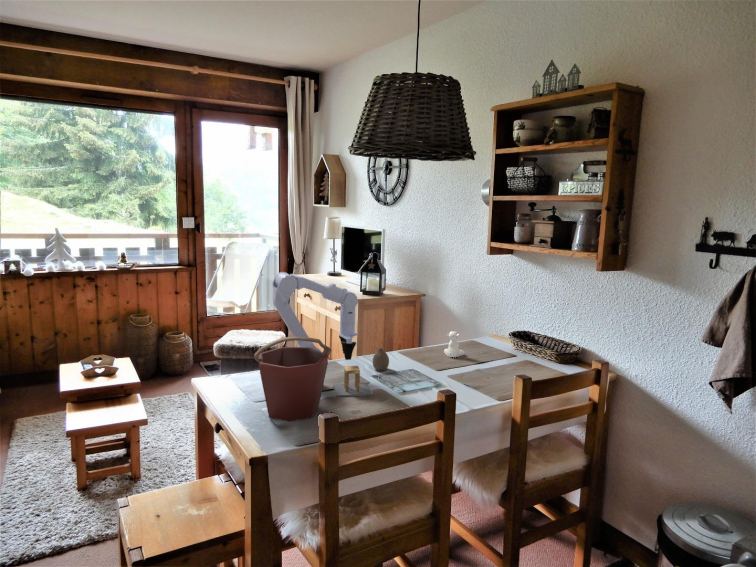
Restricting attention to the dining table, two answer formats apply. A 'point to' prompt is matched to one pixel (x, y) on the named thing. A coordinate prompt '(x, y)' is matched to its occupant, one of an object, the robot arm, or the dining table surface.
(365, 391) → the mat
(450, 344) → the seated beast figurine
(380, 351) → the vase
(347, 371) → the stool
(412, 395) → the dining table surface
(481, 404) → the dining table surface
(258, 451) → the dining table surface
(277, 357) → the bucket
